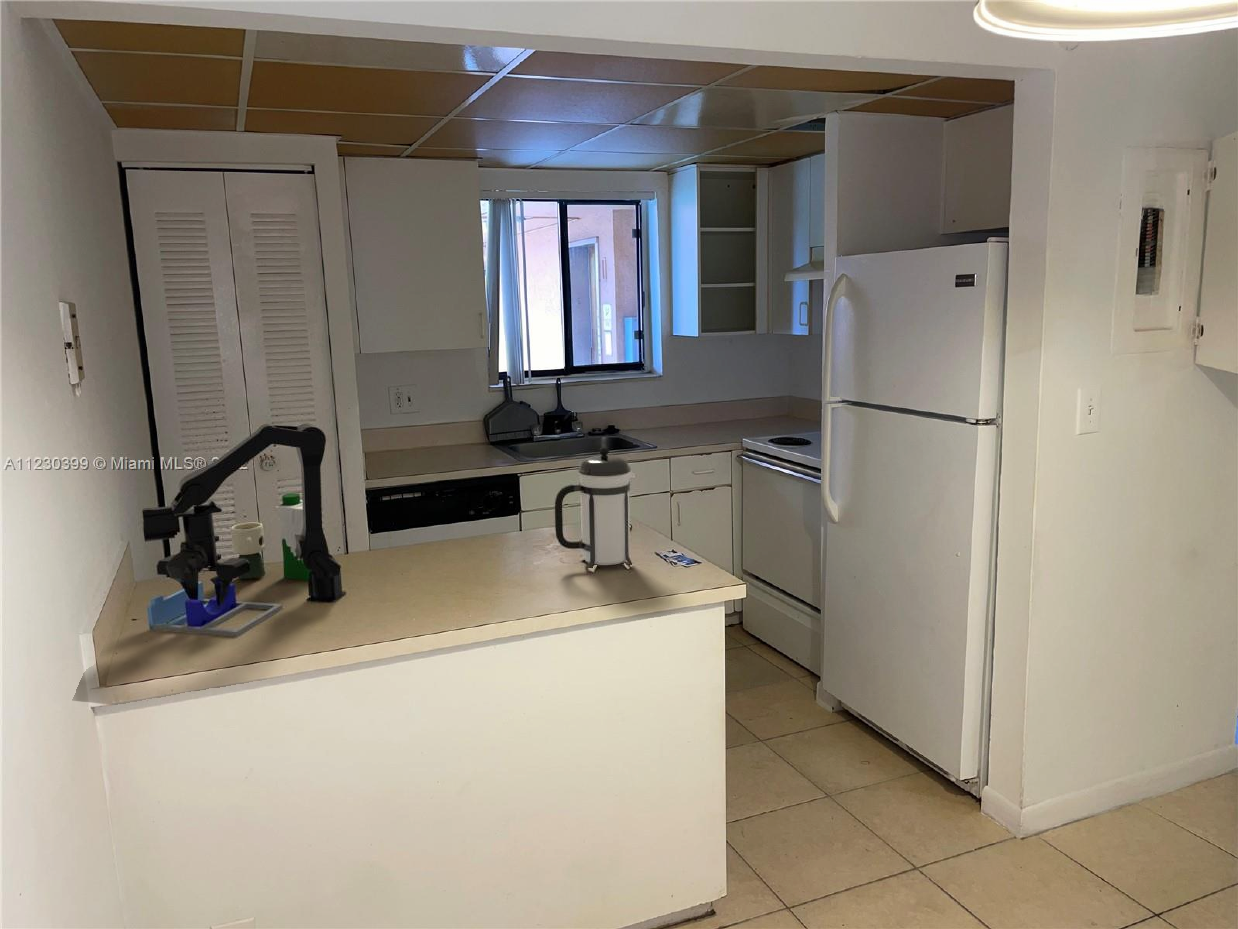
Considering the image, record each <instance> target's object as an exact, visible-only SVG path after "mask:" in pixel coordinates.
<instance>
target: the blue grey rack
mask: <svg viewBox="0 0 1238 929" xmlns="http://www.w3.org/2000/svg"><path fill="white" fill-rule="evenodd" d="M204 592H205V591H204V584H203V581H198V600H202V601H203V605H204V608H205V607H206V606H207V604H208V602H209V600H210V599H211V598H209V599H208V598H205V593H204ZM187 600H189V597H188V595H187V594H186V592H185V590H184V588H183V589H180V590H178V591H177V592H175V593H173V594H171V595H168V596H166V597H165V598H164V595H163V594H162V595H159V594H158V595H156V596H154V597H152V598H150V605H148V606H147V605H146V612H147V619H148V620H147V621H148V627H149V630H150V631H160V630H166V631H165V632H173V633H174V632H177V633H186V634H199V635H200V634H202V635H213V636H214V635H215V636H227V637H239V636H240V635H242V634H244V633H245V632H247V631H249V630H250V629H252V628H253V627H255V626H256V625H259V624H261V623H262V622H263V621H265V620H267V619H268V618H270V617H271V616H274V615H275V614H277V613H278V612H280V611H282V610H283V609H284V608H283V604H281V603H270V602H269V603H268V602H267V603H265V602H256V601H255V602H254V601H253V602H252V601H242V600H241V601H240V600H236V606H237V607H236V608H234V609H232V610H231V611H229V612H227V613H225V614H223V615H222V616H220V617H218V618H216V619H214V620H213V621H211V622H209V623H207V624H206V625H204V626H202V627H194V626H187V625H182V623H183V624H185V623H187V617H186V608H185V601H187ZM244 609H245V610H247V609H256V610H266V611H264V612H263V613H261V614H259V615H258V616H256V617H255V618H252V619H251V620H250V621H248V622H246V623H244V624H243V625H241V626H239V627H237V628H235V629H229V628H215V627H217V626H219V625H221V624H222V623H224V622H226V621H228V620H229V619H231V618H233V617H235V616H236V615H238V614H240V613H241V611H242V612H243V611H245V610H244ZM268 609H269V610H268ZM184 613H185V614H184ZM237 613H238V614H237ZM182 614H183V615H182ZM178 616H179V617H178ZM177 617H178V618H177ZM175 618H176V619H175ZM172 619H174V620H172ZM227 619H228V620H227ZM171 620H172V621H171ZM169 621H170V623H169ZM167 622H168V623H167ZM164 623H166V624H164ZM180 624H181V625H180ZM213 627H214V628H213Z"/></svg>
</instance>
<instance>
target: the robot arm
mask: <svg viewBox="0 0 1238 929" xmlns="http://www.w3.org/2000/svg"><path fill="white" fill-rule="evenodd" d="M326 443H327V438H326V434H325V433H324V431H323V430H322V429H320V428H319V427H318V426H317V425H315V424H313V423H310V422H309V423H302V424H300V425H298V426H296V425H282V424H280V425H276V424H271V423H264V424H261V425H260V426H259V427H258V429H256V430H255V431H254V432H252V433H251V434H250V435H249V436H248V437H246V438H245V439H243V440H242V441H241V442H240V443H238V444H237V445H235V446H234V447H232V448H231V449H230V450H228V452H226V453H225V454H223V455H222V456H221V457H219V458H217V460H215V461H214V462H212V463H210V464H207V465H205V466H203V467H200V468H198V469H195V471H192V472H190V473H189V474H186V475H185V476H183V477H182V478H181V479H180V481H179V482H178V492H177V494H176V495H175V497H173V498H174V499H173V500H172V501H171V503H170V505H169V506H168V505H167V506H162V507H160V506H159V507H144V508H141V510H142V511H141V513H142V520H143V521H142V529H143V530H142V531H143V539H144V543H146V542H154V541H161V540H168V539H169V540H170V539H176V536H178V534H179V533H181V525H180V519H179V518H181V517H182V519H181V520H182V526H183V535H184V540H183V541H180V545H179V546H180V550H179V552H177V553H176V554H171V555H169V556H167V557H165V558H162V559H160V560H158V561H157V564H156V565H155V566H156V567H155V568H156V573H157V575H159V576H160V575H162V576H163V575H164V576H168V578H169V579H172V580H174V581H176V582H178V583H179V584H180V585H181V587H182V588H183V589H184V590H185V592H186V594H187V595H188V597H189V599H192V600H198V582H199V573H201V572H202V571H203V572H215V576H214V577H211V578H210V579H209V580H210V582H212V584H213V585H214V590H215V596H216V600H217V604H218V606H222V605H223V602H224V600H225V597H226V594H227V592H228V589H229V586H230V584H232V582H233V580H234V579H236V578H238V577H239V576H241V575H243V574H245V573H247V572H249V571H250V564H249V561H248V560H246V559H241V558H238V557H231V558H228V559H227V560H225V561H223V562H219V561H220V560H222V554H218V552H217V544H216V542H219V541H220V536H219V535H215V527H214V518H213V514H215V513H216V514H217V513H221V512H222V511H223V509H222V507H221V505H219V504H217V503H216V502H215V501H214V500H213V499H211V500H210V501H209V502H208V503H207V501H208V500H209V499H210V498H211V497H212V496H213V495H214V494H215V493H216V492H217V490H219V489H220V487H221V486H222V484H223V483H224V482H225V481H226V480H227V478H229V477H230V476H231V475H233V474H234V473H235V472H236V471H238V470H239V469H241V468H242V467H243V466H245V465H246V464H247V463H249V462H250V461H251V460H253V459H254V458H255V457H256V456H257V455H260V453H262V452H263V451H265V450H267V448H268V447H270V446H271V445H278V446H279V445H280V446H285V447H291V448H295V449H296V453H297V457H298V459H299V463H300V471H301V472H300V473H301V474H300V475H301V500H302V506H303V529H302V533H301V535H295V540H296V549H295V552H296V554H297V555H298V557H299V559H301V561H302V562H303V564H304V565H305V567H307V568H308V569H310V570H313V571H311V572H309V578H308V579H307V580H306V581H307V590H308V596H309V597H307V598H306V602H313V603H327V604H328V603H329V604H331V603H335V602H336V601H338V600H339V599H340V598H342V597H344V596H345V595H346V594H347V591H346V590H345V591H344V590H343V585H342V570H341V568H342V566H341V565H340V564H339V562H338V561H337V560H336V558H335V557H334V556H333V555H332V554H331V553H330V551H329V547H328V546H329V545H328V542H327V539H326V536H325V532H324V529H323V509H322V508H323V507H322V505H323V502H322V472H321V471H322V470H321V468H322V463H323V459H324V455H325V449H326ZM205 503H206V504H205ZM191 508H192V509H191Z"/></svg>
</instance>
